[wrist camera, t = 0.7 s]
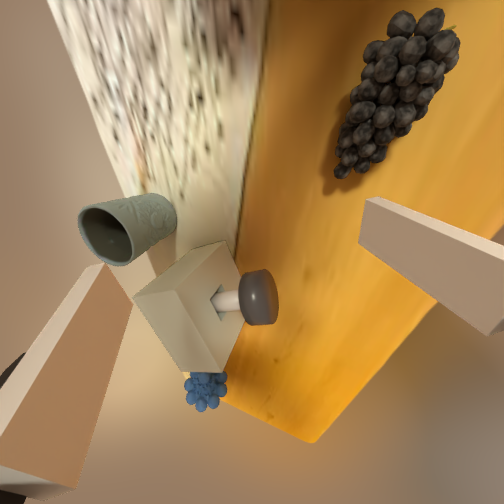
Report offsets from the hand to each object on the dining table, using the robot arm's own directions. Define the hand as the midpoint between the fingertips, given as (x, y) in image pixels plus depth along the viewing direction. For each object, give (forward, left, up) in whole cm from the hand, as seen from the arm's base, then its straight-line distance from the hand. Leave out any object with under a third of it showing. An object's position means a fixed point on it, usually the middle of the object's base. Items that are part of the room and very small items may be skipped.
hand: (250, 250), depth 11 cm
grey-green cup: (-3, -28, -24) cm, 37 cm away
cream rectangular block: (+13, -20, -24) cm, 34 cm away
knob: (+13, -13, -19) cm, 26 cm away
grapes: (+38, -34, -24) cm, 57 cm away
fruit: (-5, +10, -25) cm, 27 cm away
